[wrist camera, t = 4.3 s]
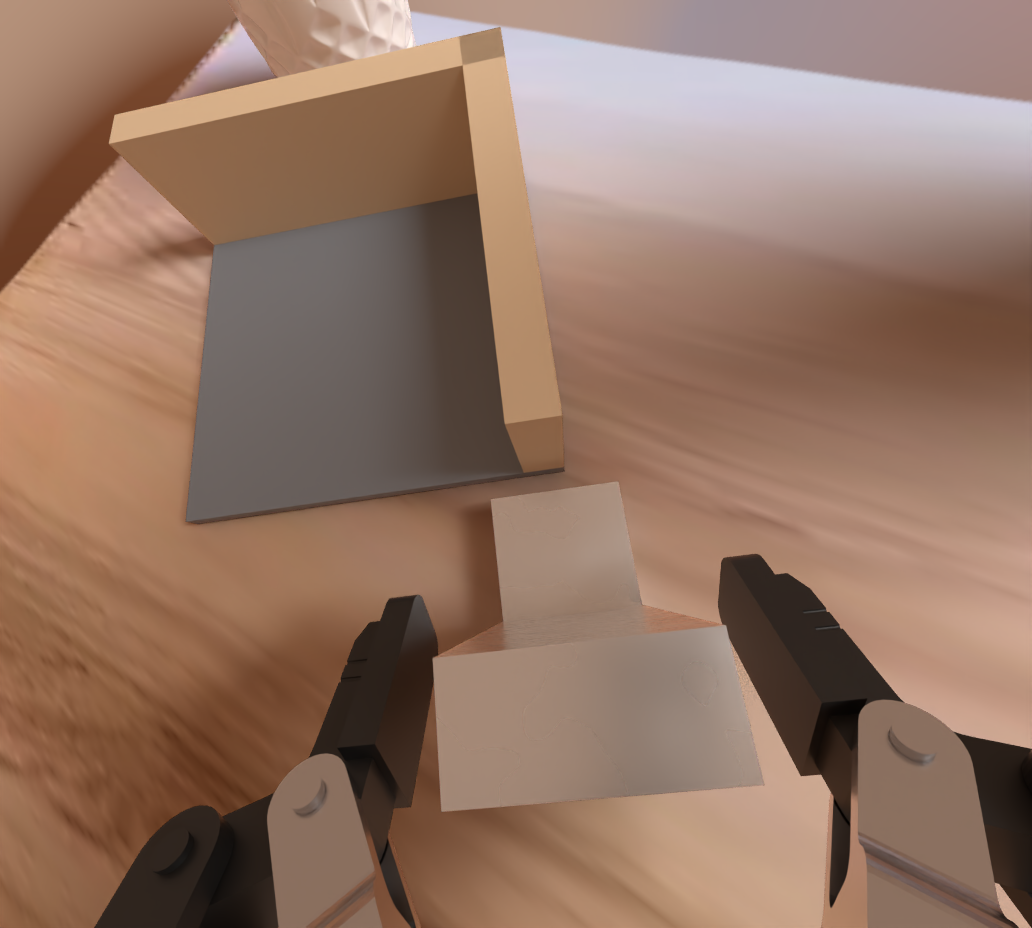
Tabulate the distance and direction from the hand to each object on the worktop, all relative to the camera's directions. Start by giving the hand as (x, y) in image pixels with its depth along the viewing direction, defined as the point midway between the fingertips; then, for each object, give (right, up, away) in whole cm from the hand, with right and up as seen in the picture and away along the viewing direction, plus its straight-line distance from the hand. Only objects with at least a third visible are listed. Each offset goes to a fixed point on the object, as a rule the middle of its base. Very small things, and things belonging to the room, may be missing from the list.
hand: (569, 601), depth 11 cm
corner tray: (-8, +9, +8) cm, 15 cm away
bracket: (0, -1, +5) cm, 5 cm away
